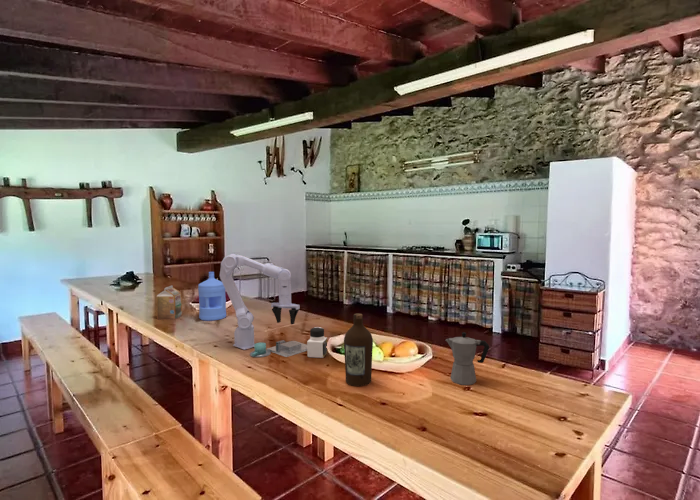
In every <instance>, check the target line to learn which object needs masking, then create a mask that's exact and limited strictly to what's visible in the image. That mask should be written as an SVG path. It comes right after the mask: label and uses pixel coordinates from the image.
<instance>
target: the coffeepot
mask: <svg viewBox="0 0 700 500" xmlns="http://www.w3.org/2000/svg"><path fill="white" fill-rule="evenodd" d="M466 336H467V332H466V331H463V332H461V336H455V337H449V338H446V339H445V342H446V343H447V344H448V345H449V347H450V348H451V352H452V358H453V363H452V368H451V373H450V380H451V382H453V384H454V383H455V384H457V385H460V386H462V385H463V386H470V385H471V386H472V385H474V384H475V383H476V382H477V376H476V370H475V369H476V368H475V365H474V360H475V356H476V351H477V347H481V346H483V349H482V354H481V356H480V359H477V360H476V362H477V363H480V364H483V363H484V362H485V359H486V358H487V357H486V356H487V355H488V352H489V349H490V345H489V344H488V342H487V341H486V340H484V339H483V340H481V339H475V338H471V337H469V336H467V337H466Z"/></svg>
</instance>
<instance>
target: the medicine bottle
mask: <svg viewBox="0 0 700 500" xmlns="http://www.w3.org/2000/svg"><path fill="white" fill-rule="evenodd" d="M309 333H310V336H309V337H310V338H309V339H308V340H307V342H306V345H307V351H306V352H307V354H306V355H307V357H308V358H318V359H319V358H320V359H324V357H325V356H326V355H327V354H328V337H327V336H326V337H325V329H324V328H323V327H319V326H316V327H312V328H310V331H309ZM326 346H327V348H326Z"/></svg>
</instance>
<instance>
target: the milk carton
mask: <svg viewBox="0 0 700 500" xmlns="http://www.w3.org/2000/svg"><path fill="white" fill-rule="evenodd" d="M182 299H183V298H182V292H181V291H180V290H178V289H176V288H175V287H173V285H172V284H171V285H169V286H166V287H164V290H162V291H161V292H160V293H158V294H157V295H156V318H157V320H163V321H164V320H170V321H171V320H172V321H173V320H177V319H178V318H180V317H181V316H183V306H182Z"/></svg>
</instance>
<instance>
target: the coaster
mask: <svg viewBox="0 0 700 500" xmlns="http://www.w3.org/2000/svg"><path fill="white" fill-rule="evenodd" d="M254 352H255V350H253V351H251V352H249V356H250V357H252V358H265V357H268V356H270V355H271V354H272V352H270V351H268V350H267V349H266V353H265V354H263V355H256V356H252V353H254Z"/></svg>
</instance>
